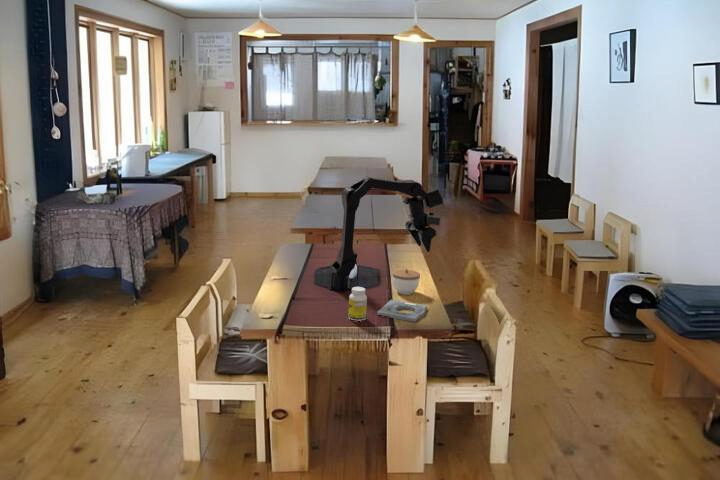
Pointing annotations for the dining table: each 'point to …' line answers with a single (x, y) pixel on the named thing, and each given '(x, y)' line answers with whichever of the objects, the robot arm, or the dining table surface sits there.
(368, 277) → the dining table surface
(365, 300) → the pill bottle
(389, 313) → the socket board
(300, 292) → the dining table surface
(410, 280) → the lidded jar
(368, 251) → the dining table surface
